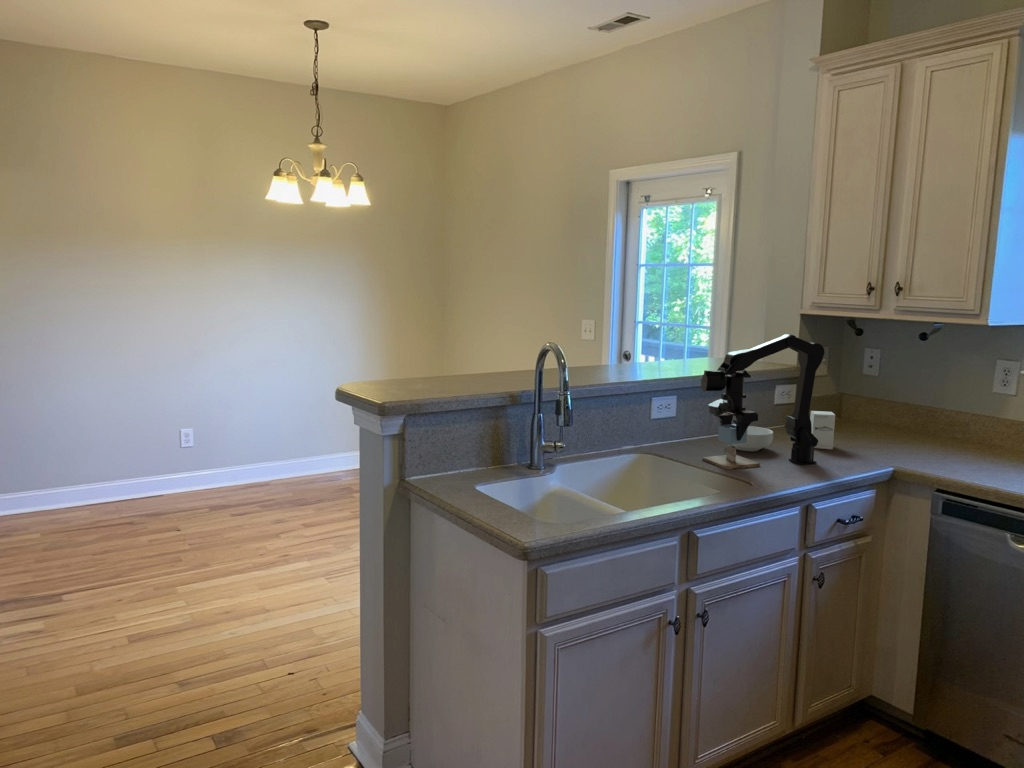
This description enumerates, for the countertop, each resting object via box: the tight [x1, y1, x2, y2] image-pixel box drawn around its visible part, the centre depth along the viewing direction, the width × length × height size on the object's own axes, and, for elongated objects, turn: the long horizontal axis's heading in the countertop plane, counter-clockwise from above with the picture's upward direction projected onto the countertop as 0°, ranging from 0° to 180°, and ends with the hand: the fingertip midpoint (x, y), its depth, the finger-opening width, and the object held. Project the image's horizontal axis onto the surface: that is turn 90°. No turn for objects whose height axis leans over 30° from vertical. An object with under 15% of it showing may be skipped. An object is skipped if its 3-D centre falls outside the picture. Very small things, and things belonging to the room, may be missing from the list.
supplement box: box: [809, 410, 836, 450], centre depth 271 cm, size 7×7×13 cm
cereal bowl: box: [730, 425, 774, 452], centre depth 268 cm, size 17×17×7 cm
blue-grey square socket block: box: [717, 423, 747, 445], centre depth 246 cm, size 6×6×5 cm
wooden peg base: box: [701, 445, 761, 470], centre depth 247 cm, size 13×13×6 cm
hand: (732, 438), depth 246 cm, fingers closed on blue-grey square socket block, 6 cm apart
